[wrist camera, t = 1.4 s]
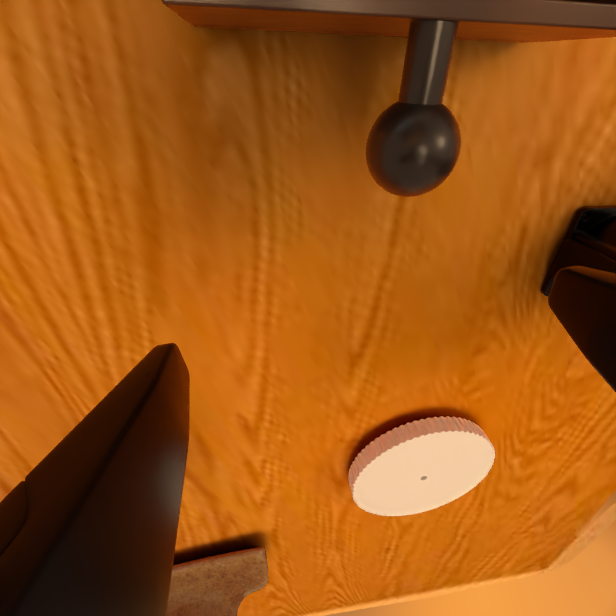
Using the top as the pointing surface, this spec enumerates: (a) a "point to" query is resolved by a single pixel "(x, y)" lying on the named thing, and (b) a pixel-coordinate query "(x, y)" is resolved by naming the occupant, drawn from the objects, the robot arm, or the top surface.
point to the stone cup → (216, 583)
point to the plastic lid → (420, 466)
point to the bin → (414, 60)
